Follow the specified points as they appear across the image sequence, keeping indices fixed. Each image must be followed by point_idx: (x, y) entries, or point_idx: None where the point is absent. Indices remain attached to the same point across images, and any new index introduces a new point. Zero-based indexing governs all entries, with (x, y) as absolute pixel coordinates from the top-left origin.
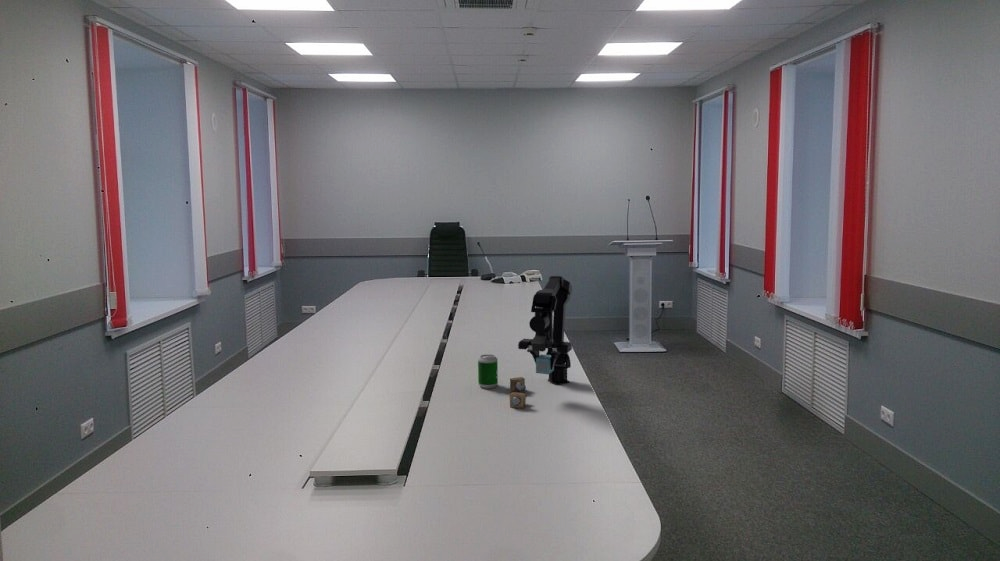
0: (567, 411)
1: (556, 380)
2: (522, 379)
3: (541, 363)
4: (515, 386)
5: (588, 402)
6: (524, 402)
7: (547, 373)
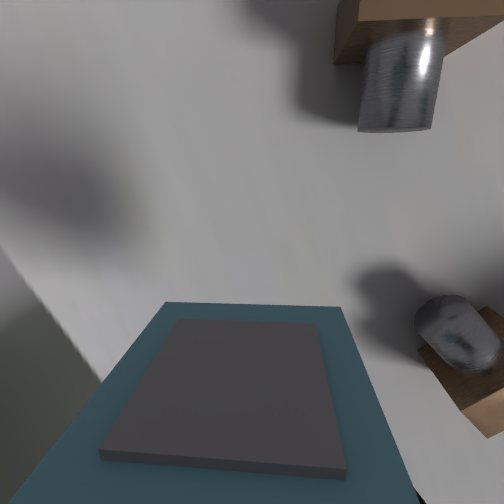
0: (57, 89)
1: None
2: (474, 398)
3: (241, 424)
4: (495, 332)
5: (40, 279)
6: (342, 23)
7: (177, 308)
